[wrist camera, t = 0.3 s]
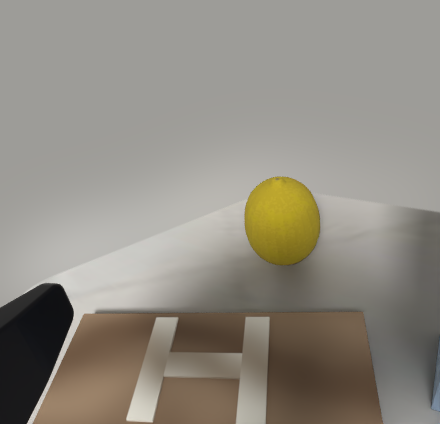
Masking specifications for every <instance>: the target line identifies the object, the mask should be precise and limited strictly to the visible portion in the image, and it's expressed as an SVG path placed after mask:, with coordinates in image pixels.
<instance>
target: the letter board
mask: <svg viewBox="0 0 440 424" xmlns="http://www.w3.org/2000/svg"><path fill="white" fill-rule="evenodd" d="M33 424H383V421H382V415H381V409H380V404H379V398H378V393H377V387H376V381H375V376H374V370H373V365H372V359H371V354H370V348H369V342H368V337H367V331H366V326H365V320H364V314H363V312H260V313H126V314H84V315H83V317H82V319H81V321H80V324H79V326H78V328H77V330H76V332H75V334H74V336H73V339H72V341H71V343H70V345H69V347H68V349H67V351H66V354H65V356H64V358H63V360H62V362H61V364H60V366H59V369H58V371H57V373H56V375H55V377H54V379H53V381H52V384H51V386H50V388H49V390H48V392H47V394H46V396H45V398H44V401H43V403H42V405H41V407H40V409H39V411H38V413H37V416H36V418H35V420H34V422H33Z"/></svg>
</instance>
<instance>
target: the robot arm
mask: <svg viewBox="0 0 440 424" xmlns="http://www.w3.org/2000/svg"><path fill="white" fill-rule="evenodd" d="M73 316H74V311H73V307H72V305H71V303H70V301H69V299H68V297H67V294H66V292H65V290H64V288H63V287H62V286H61V285H60V284H55V283H44V284H41V285H39V286H37V287H36V288H34V289H32V290H30V291H29V292H27V293H25V294H23V295H22V296H20V297H18V298H16V299H15V300H13V301H11V302H10V303H8V304H6V305H4V306H3V307H1V308H0V424H27V422H28V420H29V418H30V416H31V414H32V412H33V410H34V409H35V407H36V405H37V403H38V401H39V399H40V397H41V395H42V393H43V391H44V389H45V387H46V385H47V382H48V380H49V378H50V376H51V373H52V371H53V368H54V366H55V363H56V361H57V358H58V356H59V353H60V351H61V348H62V346H63V343H64V341H65V338H66V336H67V333H68V331H69V328H70V326H71V323H72V320H73Z"/></svg>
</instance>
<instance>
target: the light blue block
mask: <svg viewBox="0 0 440 424" xmlns="http://www.w3.org/2000/svg"><path fill="white" fill-rule="evenodd" d="M431 409H434V410H436V411H439V412H440V338H439V346H438V355H437V363H436V372H435V380H434V389H433V397H432V406H431Z"/></svg>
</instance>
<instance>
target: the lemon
mask: <svg viewBox="0 0 440 424" xmlns="http://www.w3.org/2000/svg"><path fill="white" fill-rule="evenodd" d="M245 231H246V235H247V237H248V240H249V242H250V245H251V247H252V248H253V250H254V251H255V252H256V253H257V254H258V255H259V256H260V257H261V258H262V259H264V260H266V261H267V262H269V263H272V264H275V265H291V264H295V263H297V262H300V261H302V260H303V259H304V258H306V257H307V256H308V255H309V254H310V253H311V251H312V250H313V249H314V247H315V245H316V243H317V240H318V237H319V233H320V216H319V210H318V207H317V204H316V202H315V200H314V198H313V195H312V194H311V192H310V191H309V190H308V189H307V187H306V186H305V185H303V184H302V183H300V182H299V181H297V180H295V179H292V178H289V177H273V178H270V179H267V180H265V181H263V182H262V183H260V184H259V185H258V186H256V188H255V189H254V190H253V191H252V192H251V194H250V196H249V198H248V201H247V203H246V207H245Z"/></svg>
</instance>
